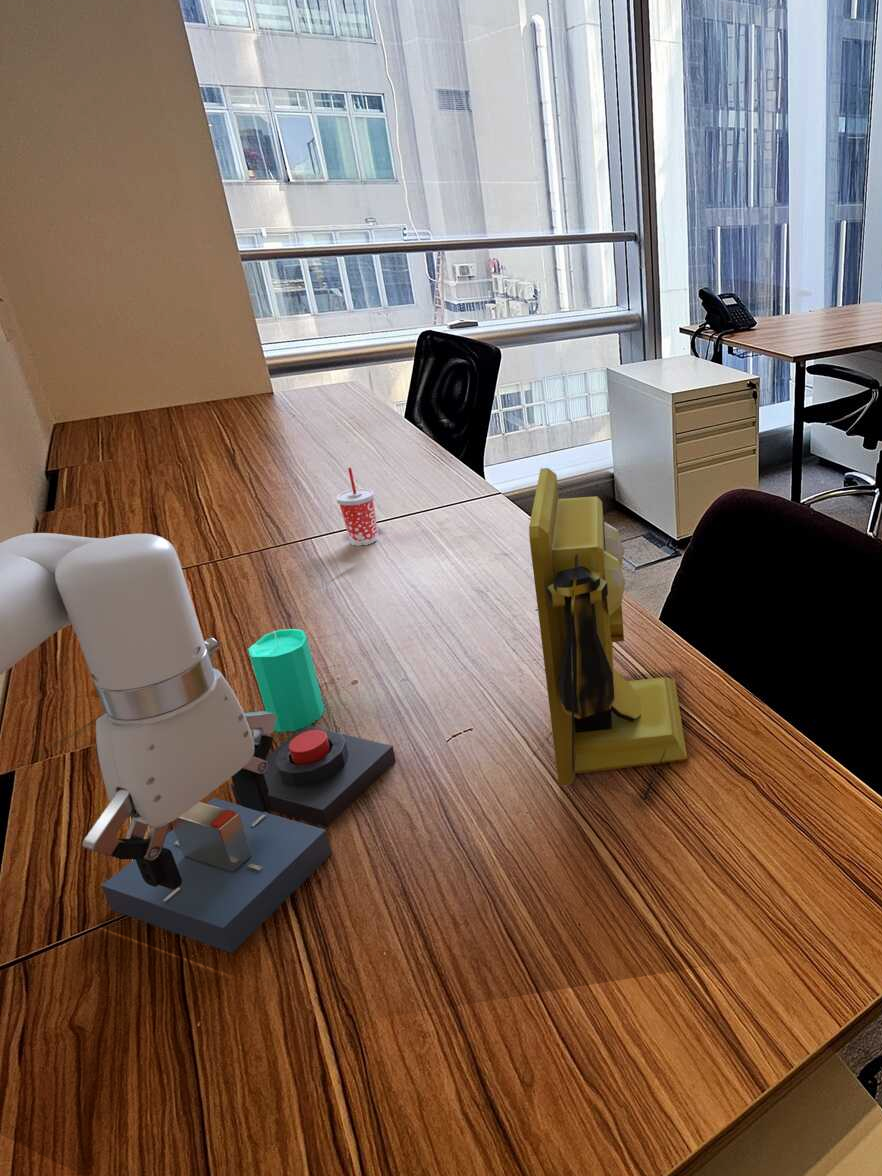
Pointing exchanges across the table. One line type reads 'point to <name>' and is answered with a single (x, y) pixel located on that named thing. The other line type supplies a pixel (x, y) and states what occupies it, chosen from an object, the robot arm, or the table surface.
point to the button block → (324, 777)
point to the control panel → (225, 882)
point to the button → (309, 747)
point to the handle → (212, 836)
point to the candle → (287, 679)
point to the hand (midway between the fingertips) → (213, 842)
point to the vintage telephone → (592, 645)
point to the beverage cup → (359, 514)
